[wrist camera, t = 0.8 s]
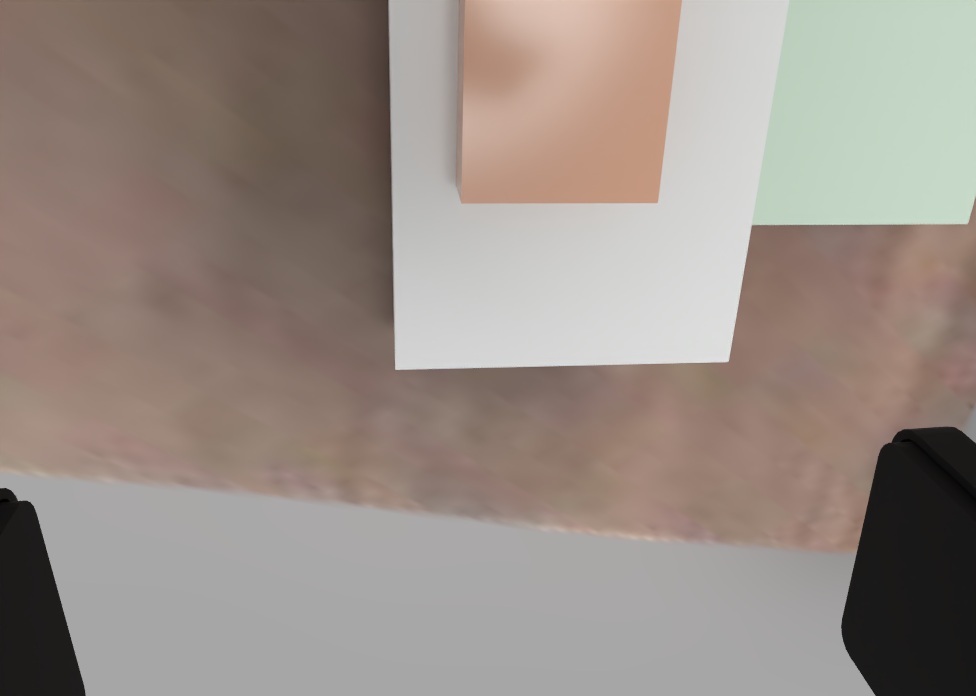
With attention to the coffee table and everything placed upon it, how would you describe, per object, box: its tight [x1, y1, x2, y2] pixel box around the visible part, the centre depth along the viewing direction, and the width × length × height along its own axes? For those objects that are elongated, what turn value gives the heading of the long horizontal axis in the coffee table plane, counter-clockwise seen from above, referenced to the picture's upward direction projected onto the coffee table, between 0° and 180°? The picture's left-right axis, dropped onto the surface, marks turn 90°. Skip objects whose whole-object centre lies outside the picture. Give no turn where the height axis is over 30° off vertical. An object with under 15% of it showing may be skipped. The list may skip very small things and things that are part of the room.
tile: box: [456, 0, 682, 204], centre depth 25 cm, size 9×6×2 cm, turn 178°
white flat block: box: [388, 0, 789, 370], centre depth 28 cm, size 22×12×4 cm, turn 178°
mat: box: [752, 0, 976, 225], centre depth 30 cm, size 16×10×1 cm, turn 178°
